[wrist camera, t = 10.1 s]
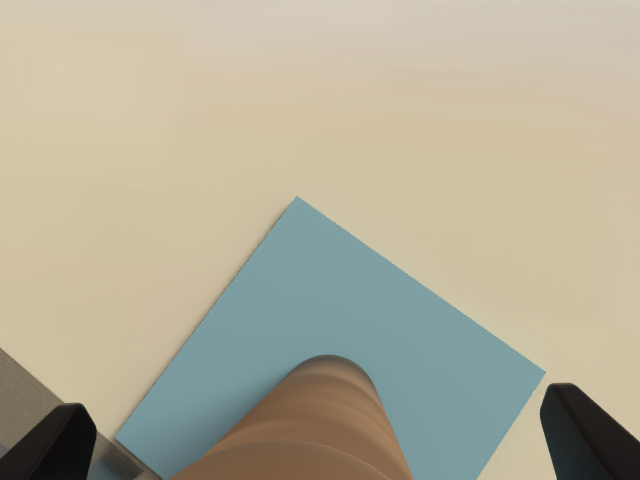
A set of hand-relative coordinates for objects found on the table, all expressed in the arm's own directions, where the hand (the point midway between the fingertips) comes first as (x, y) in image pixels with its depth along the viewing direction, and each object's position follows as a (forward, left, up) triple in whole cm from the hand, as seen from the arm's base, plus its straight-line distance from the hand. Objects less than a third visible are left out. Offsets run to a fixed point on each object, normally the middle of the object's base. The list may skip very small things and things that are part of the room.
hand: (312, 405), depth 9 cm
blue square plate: (-1, -1, -8) cm, 9 cm away
